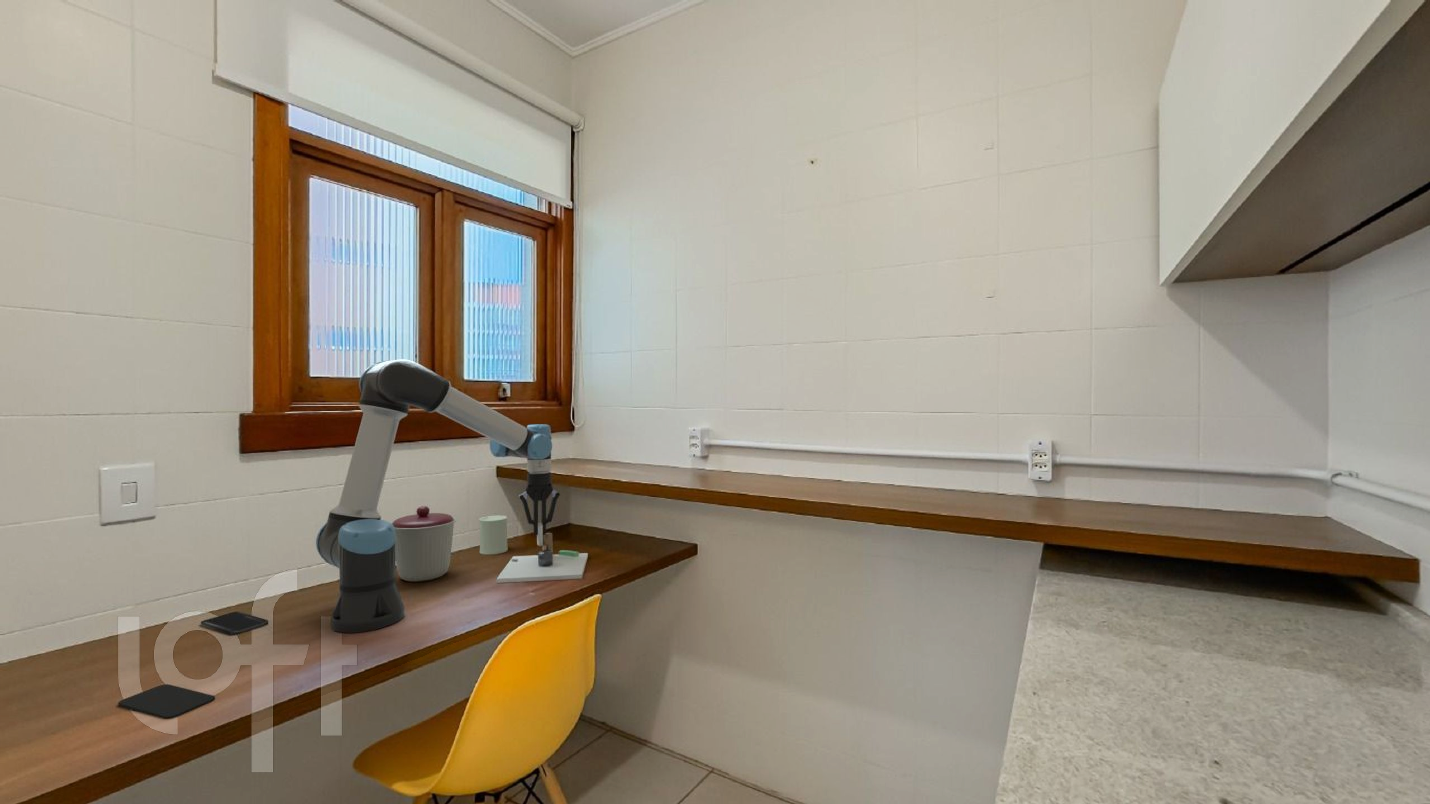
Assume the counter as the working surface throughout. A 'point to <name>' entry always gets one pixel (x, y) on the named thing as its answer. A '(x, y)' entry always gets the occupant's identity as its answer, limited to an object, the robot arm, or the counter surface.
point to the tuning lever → (546, 551)
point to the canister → (423, 544)
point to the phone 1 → (166, 701)
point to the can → (493, 535)
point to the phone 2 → (234, 623)
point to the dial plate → (544, 568)
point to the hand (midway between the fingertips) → (539, 544)
